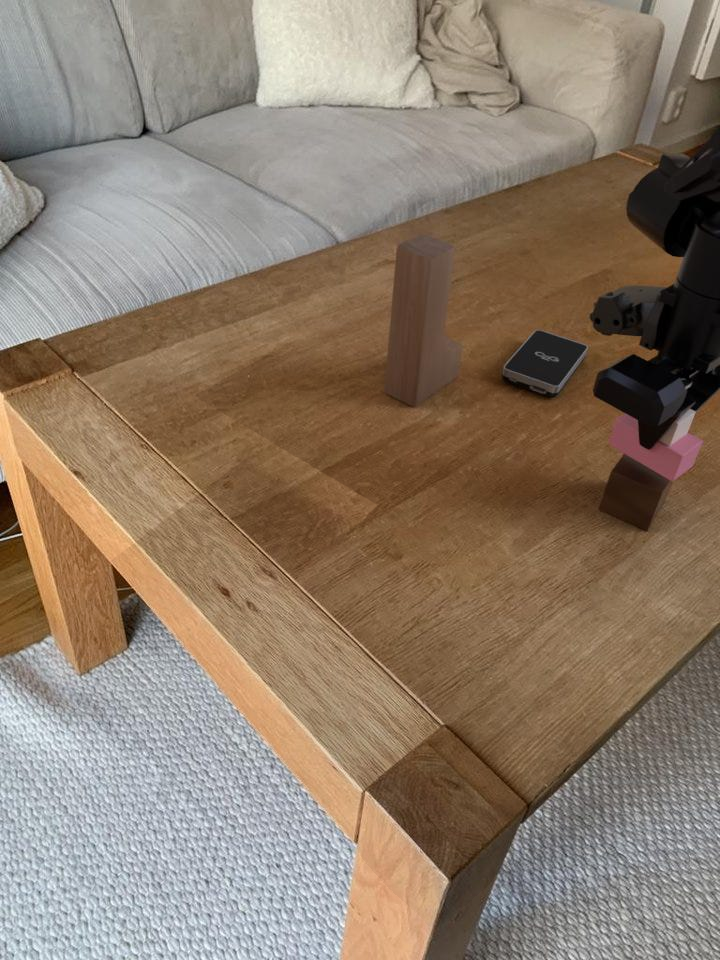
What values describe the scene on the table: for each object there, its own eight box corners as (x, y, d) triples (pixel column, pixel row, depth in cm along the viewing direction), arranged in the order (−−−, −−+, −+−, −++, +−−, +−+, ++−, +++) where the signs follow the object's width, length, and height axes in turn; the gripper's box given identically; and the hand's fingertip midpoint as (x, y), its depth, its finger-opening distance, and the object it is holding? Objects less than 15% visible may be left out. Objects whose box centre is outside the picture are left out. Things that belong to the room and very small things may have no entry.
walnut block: (664, 503, 81) (679, 465, 78) (647, 531, 78) (662, 492, 75) (616, 483, 83) (629, 445, 80) (598, 509, 80) (611, 471, 77)
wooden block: (428, 362, 99) (446, 218, 87) (459, 376, 97) (482, 231, 85) (382, 393, 93) (395, 244, 82) (414, 409, 91) (431, 259, 80)
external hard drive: (499, 382, 96) (501, 368, 95) (533, 342, 104) (536, 328, 102) (554, 402, 94) (558, 387, 92) (586, 359, 101) (589, 345, 100)
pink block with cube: (693, 466, 76) (713, 418, 72) (672, 482, 74) (691, 433, 70) (628, 430, 79) (644, 382, 76) (607, 444, 77) (622, 396, 74)
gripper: (685, 220, 74) (638, 366, 85) (561, 277, 64) (524, 435, 74) (803, 266, 68) (737, 416, 79) (686, 336, 58) (628, 498, 69)
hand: (657, 438), depth 75 cm, fingers closed on pink block with cube, 3 cm apart
